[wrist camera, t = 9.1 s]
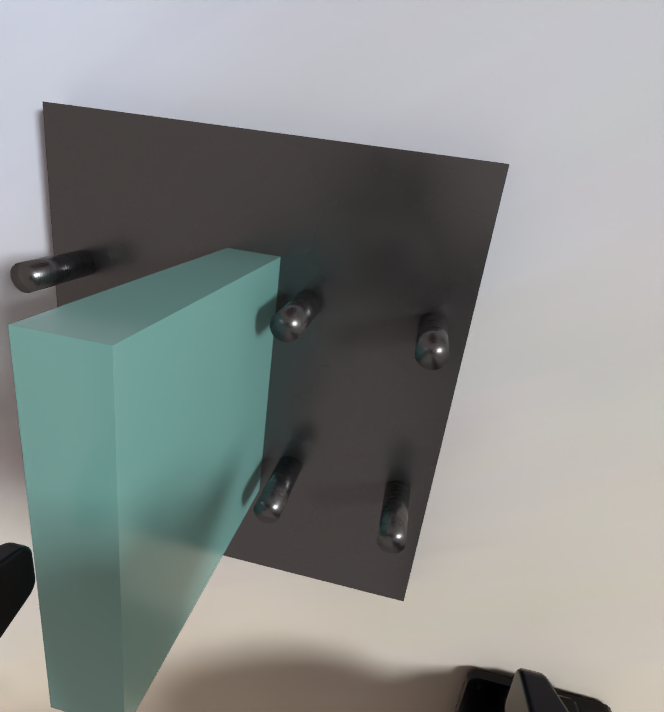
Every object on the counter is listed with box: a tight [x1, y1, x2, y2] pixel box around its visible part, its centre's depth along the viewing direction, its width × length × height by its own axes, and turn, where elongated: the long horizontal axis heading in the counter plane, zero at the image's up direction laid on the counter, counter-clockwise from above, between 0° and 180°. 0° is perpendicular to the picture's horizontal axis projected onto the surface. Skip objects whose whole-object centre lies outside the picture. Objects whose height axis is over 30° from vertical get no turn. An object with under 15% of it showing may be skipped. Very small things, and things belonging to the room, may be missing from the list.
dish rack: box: [11, 102, 509, 601], centre depth 19 cm, size 18×16×4 cm
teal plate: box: [8, 248, 281, 712], centre depth 15 cm, size 10×2×10 cm, turn 173°
